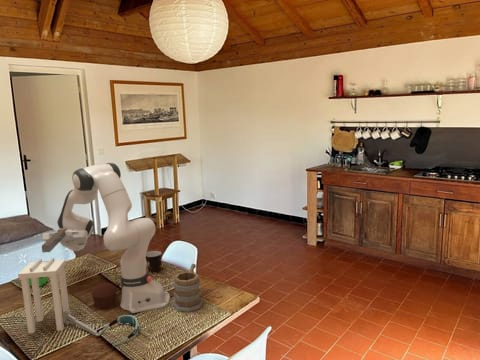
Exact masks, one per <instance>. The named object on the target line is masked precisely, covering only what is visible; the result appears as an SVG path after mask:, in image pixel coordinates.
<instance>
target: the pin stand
mask: <svg viewBox="0 0 480 360" xmlns="http://www.w3.org/2000/svg"><path fill="white" fill-rule="evenodd" d="M66 264H67V263H66V259H55V257H51V258H50V259H49V260H46V261H43V260H42V258H39V259H37V261H32V262H29V263H28V264H27V265H26V266H25V267H24V268H23V269H22V270H21V271H19V272H18V279H19V280H20V283H21V288H22V297H23V304H24V312H25V313H24V314H25V317H26V318H25V319H26V326H27V331H28V332H27V333H28V334H31V335H32V334H35V332H36V331H37V330H36V324H35V318H36V322H43V320H44V311H43V306H42V305H43V304H42V298H41V297H42V296H41V289H40V288H41V287H39V280H38V277H48V278H50V285H51V293H52V299H53V300H52V301H53V310H54V317H55V326H56V331H58V332H59V331H63V329H64V328H65V327H64V325H65V324H64V321H63V313H64V312H65V311H66V310H67V312H69V313H68V314H70V315H71V311H70V303H69V296H68V295H69V294H68V288H67V287H68V286H67V285H68V284H67V279H66V278H67V277H66V270H65V266H66ZM29 278H31V282H32V287H31V286H29ZM31 288H32V295H31ZM32 296H33V299H32ZM32 300H33V301H32ZM33 302H34V309H33ZM34 311H35V317H34Z"/></svg>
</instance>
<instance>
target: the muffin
mask: <svg viewBox="0 0 480 360" xmlns="http://www.w3.org/2000/svg"><path fill="white" fill-rule="evenodd" d="M117 292H118V288H117V286H115V285H114V284H112V283H110V282H101V283H99V284H97V285H95V286H94V287H93V289H92V290H91V292H90V294H91V295H90V296H91V297H92V299H93V303H94V306H95V309H98V310H101V311H102V310H108V309H112V308H113V307H114V306H115V305H117V304H116V302H117Z"/></svg>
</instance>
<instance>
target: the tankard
mask: <svg viewBox="0 0 480 360" xmlns="http://www.w3.org/2000/svg"><path fill="white" fill-rule="evenodd" d="M196 266H197V265H196V264H195V263H192V264H191V266H190V268H189V270H188V271H187V270H186V271H183V272H179V273H177V274H176V275H175V276H174V278H173V279H174V281H173V282H172V286H173V289H174V292H173V298H174V301H173V303H172V307H173V308H174V309H175V310H176V311H177V312H182V311H183V313H184V312H186V313H190V311H191V312H193V311H196V310H199V309H200V308H201V307H202V304H204V300H203V299H202V297H201V295H202V291H201V289H200V285H201V279H200V276H199V274H197V272H195V271H194V270H195V269H196Z"/></svg>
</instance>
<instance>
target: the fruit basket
mask: <svg viewBox="0 0 480 360" xmlns="http://www.w3.org/2000/svg"><path fill="white" fill-rule="evenodd" d="M48 279H49V276H48V277H38V280H39V286H42V285H43V284H44V285H46V284H47V283H48ZM46 282H47V283H46ZM44 285H43V286H44ZM29 286H30V287H31V286H32V282H31V278H29ZM43 286H42V287H43Z"/></svg>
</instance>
